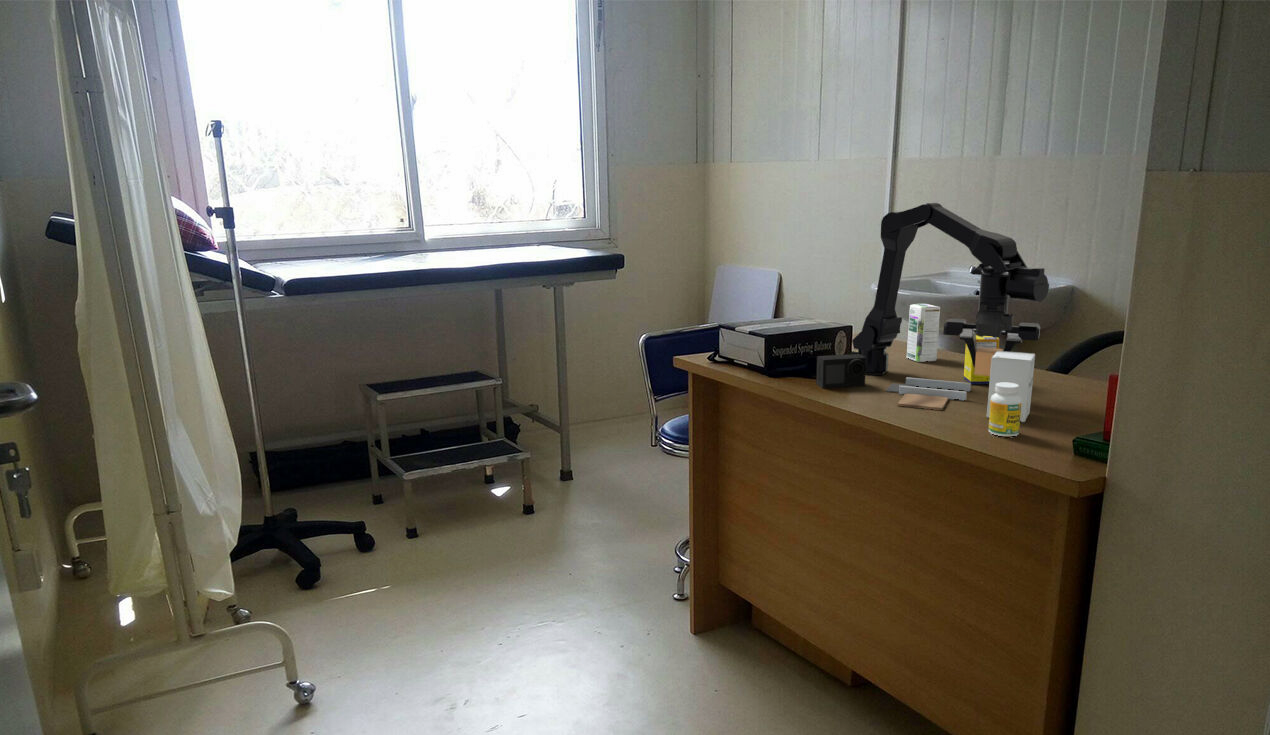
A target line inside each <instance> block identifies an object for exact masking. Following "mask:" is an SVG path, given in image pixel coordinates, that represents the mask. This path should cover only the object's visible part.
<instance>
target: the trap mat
mask: <svg viewBox="0 0 1270 735" xmlns="http://www.w3.org/2000/svg"><path fill="white" fill-rule="evenodd" d="M899 386H911V387H915V386H914V385H906V383H904V384H903V383H902V384H901V383H894V382H891V384H890V385H889V386H888V387H887V388H886V390H885V391H886V392H887V393H894V394H895V393H896V392H897V393H898V394H899ZM897 393H896V394H897Z"/></svg>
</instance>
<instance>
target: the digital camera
mask: <svg viewBox="0 0 1270 735" xmlns="http://www.w3.org/2000/svg"><path fill="white" fill-rule="evenodd" d="M866 370H867V366H866V357H864V356H862V355H860V354H858V353H854V354H853V353H852V354H851V353H849V354H832V355H818V356H816V385H817V386H818V387H820V388H821V389H838V388H839V389H840V388H841V389H842V388H856V387H866V374H865V373H866Z"/></svg>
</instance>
